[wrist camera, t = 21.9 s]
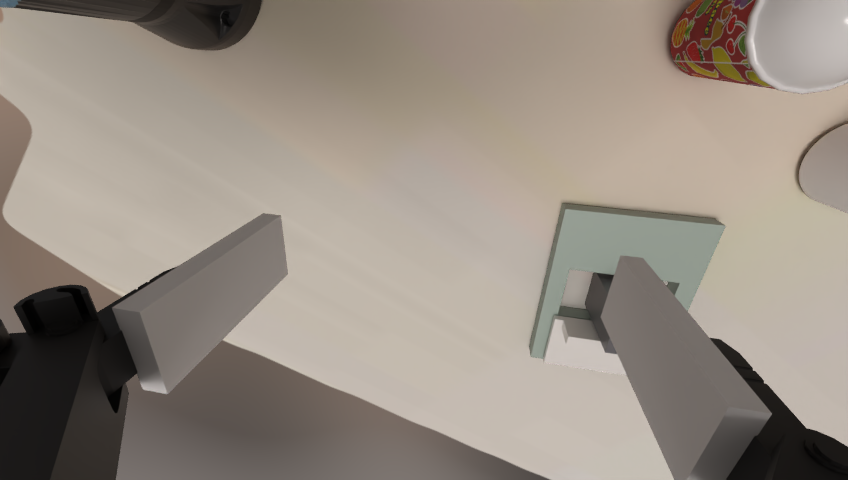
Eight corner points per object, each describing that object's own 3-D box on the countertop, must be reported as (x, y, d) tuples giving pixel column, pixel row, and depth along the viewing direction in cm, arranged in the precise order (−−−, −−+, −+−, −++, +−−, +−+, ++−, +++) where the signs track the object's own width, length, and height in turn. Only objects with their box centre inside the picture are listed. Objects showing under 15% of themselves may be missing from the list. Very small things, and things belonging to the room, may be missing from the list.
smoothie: (727, -45, 30) (1069, -214, 12) (780, 33, 32) (1152, -17, 14) (635, 38, 34) (800, -1, 16) (687, 105, 35) (891, 139, 17)
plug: (594, 269, 44) (624, 326, 34) (638, 274, 43) (682, 334, 33) (584, 303, 46) (610, 366, 36) (626, 308, 45) (664, 374, 36)
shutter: (553, 315, 45) (559, 335, 41) (666, 330, 43) (681, 353, 40) (543, 358, 48) (547, 380, 44) (647, 374, 46) (660, 398, 43)
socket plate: (562, 203, 41) (565, 209, 39) (714, 218, 39) (725, 225, 37) (529, 346, 50) (530, 356, 48) (652, 365, 48) (658, 376, 46)
